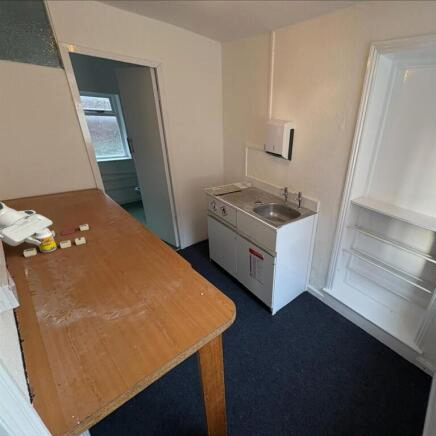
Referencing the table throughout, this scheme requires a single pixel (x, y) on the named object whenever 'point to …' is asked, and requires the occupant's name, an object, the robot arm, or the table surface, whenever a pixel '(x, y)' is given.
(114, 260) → the table surface
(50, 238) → the supplement bottle
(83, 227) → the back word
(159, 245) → the table surface
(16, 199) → the table surface
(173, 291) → the table surface
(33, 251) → the front word
